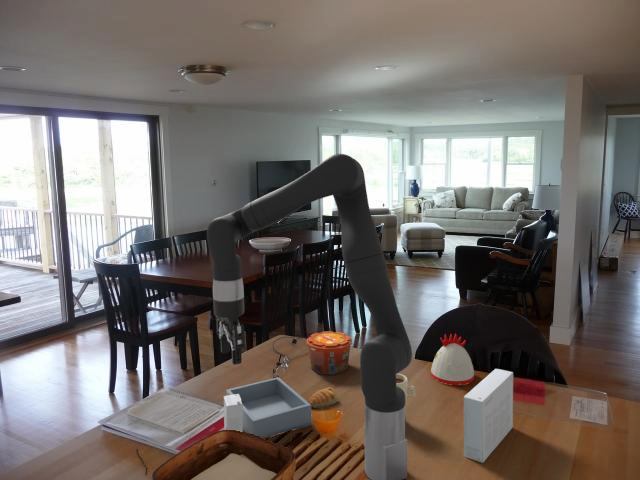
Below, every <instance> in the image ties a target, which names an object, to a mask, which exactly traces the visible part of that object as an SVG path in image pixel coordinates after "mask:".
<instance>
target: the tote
mask: <svg viewBox="0 0 640 480" xmlns="http://www.w3.org/2000/svg"><path fill="white" fill-rule="evenodd" d="M234 394H239V395H240V398H241V401H242V405H243V432H245V433H246V432H247V433H250V434H254V435H256V436H260V437H263V438H265V437H266V438H267V437H269V436H273V435H276V434H278V433H282V432H285V431H289V430H292V429H297V430H300V429H304V428H306V427H310V426H312V407H311V404H309V403H308V400H306V399H305V398H303V396H302V395H300V394H299V393H298V392H297V391H296V390H294V389H293V388H292V387H291V386H289V385H288V384H287V383H286V382H285V381H284V380H282V379H281V378H280V377H273V378H270V379H266V380H265V379H264V380H261V381H256V382H253V383H249V384H245V385H241V386H237V387H236V386H235V387H232V388H228V389H225V396H228V395H234ZM247 433H246V434H247Z"/></svg>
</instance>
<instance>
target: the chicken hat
mask: <svg viewBox="0 0 640 480" xmlns="http://www.w3.org/2000/svg"><path fill="white" fill-rule="evenodd" d="M439 338H440V341H441V343H442V346H441V347H440V349H438V351H437V352H436V354H435V355H434V359H433V361H432V364H431V367H430V369H431V370H430V376H431V375H432V377H433V378H434V379H436V380H438V381H439V382H443V383H447V384H452V385H459V384H466V383H470V382H472V381H473V380H474V379H475V371H474V365H473V363H472V359H471V357H470V355H469V353H468V352H467V349H465V347H464V346H465V344H466V339H464V340H463V342H461V341H462V337H461V336H459V337H458V336H457V334H456V333H455V334H454V336H453V335H452V333H450V335H449V339H448V337H447V334H446V333H445V334H444V339H442V337H439ZM432 377H431V378H432ZM433 378H432V379H433ZM434 379H433V380H434ZM439 382H438V383H439ZM473 382H474V381H473ZM473 382H472V383H473ZM470 384H471V383H470ZM452 385H451V386H452Z"/></svg>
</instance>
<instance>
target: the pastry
mask: <svg viewBox="0 0 640 480" xmlns="http://www.w3.org/2000/svg"><path fill="white" fill-rule="evenodd" d="M339 399H340V398H339V397H338V394H337V392H336V390H335V389H334V388H333V387H326V388H322V389H319V390H317V391H315V392H314V393H313V394H312V395H311V396H310V397H309V398H308V399H307V402H308V403H309V404H311V408H314V409H317V408H316V407H319V408H323V407H322V406H326V407H328V406H331V405H335V404H337V402H338V401H339Z"/></svg>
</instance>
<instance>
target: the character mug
mask: <svg viewBox="0 0 640 480" xmlns="http://www.w3.org/2000/svg"><path fill="white" fill-rule="evenodd" d="M396 386H397V387H400V388H401V389H402V390H403V391H404V393H405V403H406V402H407V400H408V398H414V397H415V396H416V393H415V392H416V388H415V386H414V385H409V379H408V377H407V376H406V375H404V374H402V373H397V374H396ZM409 390H410V391H411V392H410V393H408V392H409ZM406 419H407V418H406V416H405V422H406V421H407V420H406Z"/></svg>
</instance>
